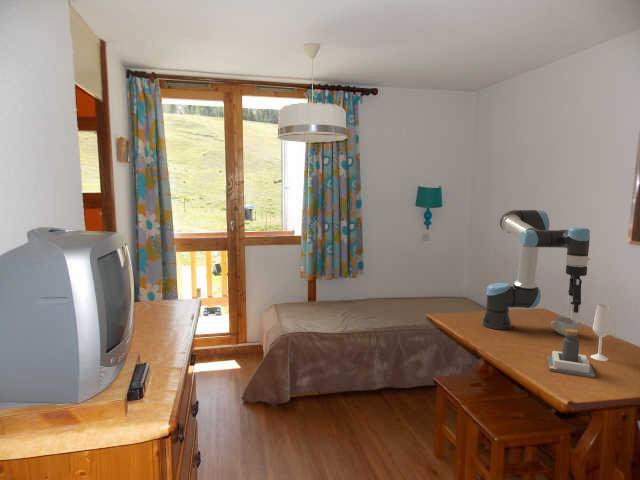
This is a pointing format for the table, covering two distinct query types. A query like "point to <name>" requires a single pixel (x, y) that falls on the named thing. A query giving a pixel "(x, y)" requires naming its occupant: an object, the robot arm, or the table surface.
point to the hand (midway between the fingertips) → (573, 315)
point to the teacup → (564, 324)
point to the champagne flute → (601, 327)
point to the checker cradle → (570, 365)
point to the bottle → (570, 346)
